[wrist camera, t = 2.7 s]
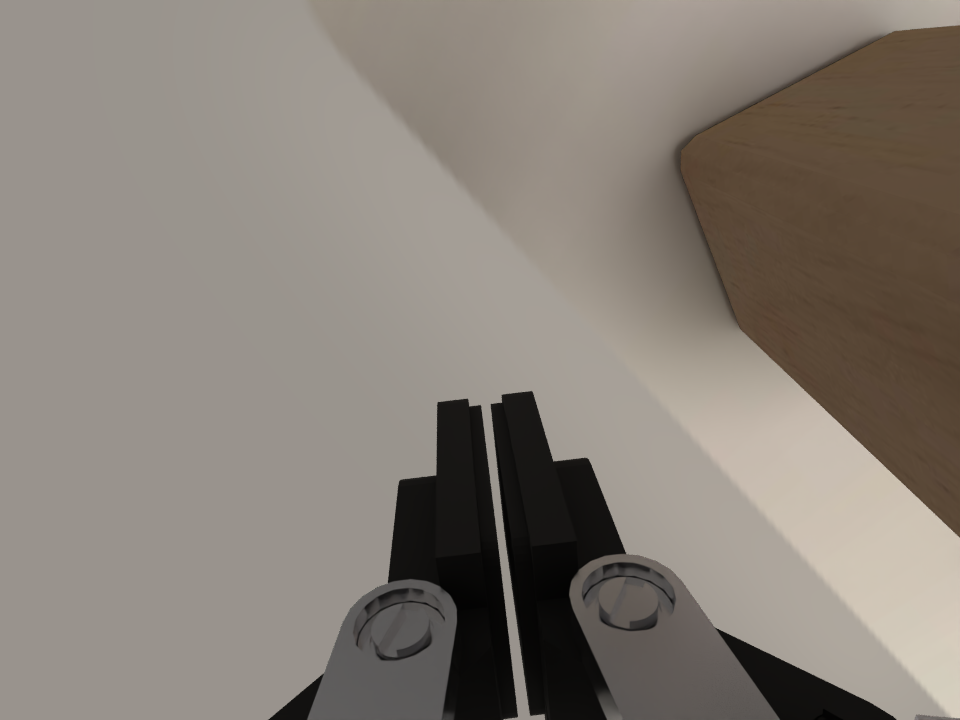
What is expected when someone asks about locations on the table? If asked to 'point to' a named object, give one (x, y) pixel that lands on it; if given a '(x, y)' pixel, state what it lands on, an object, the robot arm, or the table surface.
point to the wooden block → (853, 245)
